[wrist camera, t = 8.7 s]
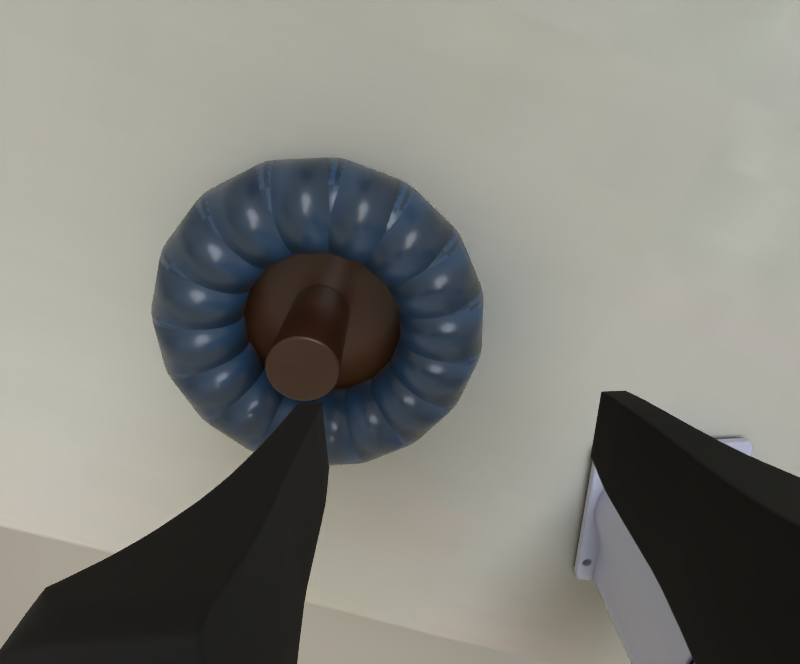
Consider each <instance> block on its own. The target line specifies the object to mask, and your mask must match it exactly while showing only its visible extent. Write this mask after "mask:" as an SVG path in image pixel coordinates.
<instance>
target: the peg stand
mask: <svg viewBox="0 0 800 664" xmlns="http://www.w3.org/2000/svg"><path fill="white" fill-rule="evenodd" d="M244 316H245V321H246V327H247V332H248V337H249V340H250V342H251V344H252V345H253V347H254V348H255V350H256V351H257V353H258V354H259V356H260V357H261V359H262V360H263V362H264V363H265V368H266V374H267V377H268V379H269V381H270V383H271V384H272V386H273V387H274V388H275V389H276V390H277V391H278V392H280V393H281V394H283V395H284V396H286V397H288V398H291V399H294V400H300V401H309V400H315V399H318V398H320V397H322V396H324V395H326V394H327V393H329V392H330V391H331V390H332V389H335V388H349V387H351V386H353V385H356V384H358V383H360V382H363V381H365V380H367V379H370V378H372V377H374V376H375V375H376V374H377V373H378V372H379V371H380V370H381V369H382V368H383V367H384V366H385V365H386V364H387V363H388V362H389V361H390V360H391V359H392V356H393V354H394V351H395V349H396V346H397V344H398V341H399V339H400V315H399V309H398V307H397V305H396V303H395V301H394V299H393V297H392V295H391V293H390V291H389V289H388V287H387V285H386V284H384V283H383V282H382V281H381V280H380V279H379V278H377V277H376V276H375V275H374V274H373V273H372V272H370V271H369V270H368V269H367V268H366V267H365V266H363V265H362V264H360V263H357V262H354V261H351V260H348V259H345V258H342V257H339V256H336V255H334V254H331V253H320V254H299V255H294V256H292V257H290V258H287V259H285V260H283V261H281V262H279V263H277V264H275V265H273V266H271V267H269V268H267V270H266V271H265V272H264V273H263V274H262V276H261V277H260V278H259V279H258V280H257V281H256V283H255V284H254V285H253V286H252V287H251V289H250V293H249V297H248V300H247V304H246V308H245V312H244Z"/></svg>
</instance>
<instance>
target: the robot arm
mask: <svg viewBox="0 0 800 664" xmlns="http://www.w3.org/2000/svg"><path fill="white" fill-rule="evenodd" d="M752 451H753V444H752V443H751V442H750V441H749V440H747V439H746V438H731V439H715V438H713V437H711V436H709V435H707V434H705V433H703V432H701V431H699V430H698V429H696V428H694V427H692V426H690V425H688V424H687V423H685V422H683V421H681V420H679V419H678V418H676V417H674V416H672V415H670V414H669V413H667V412H665V411H663V410H661V409H660V408H658V407H656V406H654V405H652V404H651V403H649V402H647V401H645V400H643V399H641V398H639V397H637V396H635V395H633V394H631V393H629V392H627V391H608V392H601V398H600V404H599V410H598V416H597V422H596V428H595V434H594V440H593V446H592V452H591V458H592V460H593V461H592V467H591V473H590V479H589V485H588V491H587V497H586V502H585V508H584V514H583V520H582V526H581V532H580V538H579V543H578V549H577V555H576V561H575V567H574V573H575V575H576V577H577V579H579V580H594V581H595V584H596V586H597V588H598V590H599V593H600V595H601V597H602V599H603V601H604V604H605V606H606V608H607V610H608V613H609V615H610V617H611V619H612V621H613V624H614V626H615V628H616V630H617V633H618V635H619V637H620V639H621V641H622V644H623V646H624V648H625V650H626V653H627V655H628V657H629V659H630V661H631V664H800V477H797V476H795V475H792V474H790V473H788V472H785V471H783V470H781V469H778V468H776V467H774V466H771V465H769V464H766V463H764V462H762V461H760V460H758V459H755V458H753V457H751V454H752ZM328 473H329V462H328V453H327V444H326V435H325V426H324V417H323V409H322V403H304V404H297V405H296V406H295V407H294V408H293V410H292V411H291V412H290V413H289V414H288V415H287V416H286V418H285V419H284V420H283V421H282V422H281V423H280V424H279V426H278V427H277V428H276V429H275V430H274V431H273V432H272V434H271V435H270V436H269V437H268V438H267V439H266V440H265V441H264V442H263V443H262V444H261V445H260V446H259V447H258V449H257V450H256V451H255V452H254V453H253V454H252V455H251V456H250V457H249V458H248V459H247V460H246V461H245V462H244V463H243V464H241V465H240V466H239V467H238V468H237V469H236V470H235V471H234V472H233V473H232V474H231V475H230V476H229V477H228V478H226V479H225V480H224V481H223V482H222V483H221V484H219V485H218V486H217V487H216V488H214V489H213V490H212V491H211V492H209V493H208V494H207V495H205V496H204V497H203V498H202V499H200V500H199V501H198V502H196V503H195V504H194V505H192V506H191V507H189V508H188V509H186V510H185V511H183V512H182V513H180V514H179V515H177V516H176V517H175V518H173V519H172V520H170V521H169V522H167V523H166V524H164V525H163V526H161V527H160V528H158V529H157V530H155V531H153V532H152V533H150V534H148V535H147V536H145V537H143V538H142V539H140V540H138V541H137V542H135V543H133V544H131V545H130V546H128V547H126V548H124V549H123V550H121V551H119V552H117V553H115V554H113V555H112V556H110V557H108V558H106V559H104V560H102V561H101V562H98V563H96V564H95V565H92V566H90V567H88V568H86V569H84V570H82V571H80V572H78V573H76V574H74V575H72V576H70V577H68V578H65V579H63V580H61V581H59V582H57V583H55V584H53V585H51V586H49V587H46V588H45V589H44V591H43V592H42V593H41V595H40V596H39V597H38V599H37V600H36V601H35V602H34V604H33V605H32V606H31V608H30V609H29V611H28V612H27V613H26V614H25V616H24V617H23V619H22V620H21V621H20V623H19V624H18V626H17V627H16V628H15V630H14V631H13V633H12V634H11V635H10V637H9V638H8V640H7V641H6V642H5V644H4V645H3V646H2V648H1V649H0V664H297V659H298V650H299V641H300V633H301V625H302V617H303V608H304V602H305V596H306V590H307V585H308V580H309V576H310V571H311V567H312V562H313V558H314V553H315V549H316V544H317V540H318V535H319V531H320V526H321V522H322V517H323V513H324V508H325V503H326V494H327V484H328Z"/></svg>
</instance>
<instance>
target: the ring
mask: <svg viewBox="0 0 800 664" xmlns="http://www.w3.org/2000/svg"><path fill="white" fill-rule="evenodd" d="M320 253H331V254H334V255H336V256H339V257H342V258H345V259H348V260H351V261H354V262H357V263H360V264H362V265H363V266H365V267H366V268H367V269H368V270H369V271H370V272H372V273H373V274H374V275H375V276H376V277H377V278H379V279H380V280H381V281H382V282H383V283H384V284H386V285H387V287H388V289H389V291H390V293H391V295H392V297H393V299H394V301H395V303H396V305H397V307H398V309H399V315H400V339H399V341H398V344H397V346H396V349H395V351H394V354H393V356H392V359H391V360H390V361H389V362H388V363H387V364H386V365H385V366H384V367H383V368H382V369H381V370H380V371H379V372H378V373H377V374H376V375H375V376H374V377H372V378H370V379H367V380H365V381H363V382H360V383H358V384H356V385H353V386H351V387H349V388H335V389H332V390H331V391H330V392H329V393H327V394H326V395H324V396H322V397H320V398H318V399H315V400H309V401H300V400H294V399H291V398H288V397H286V396H284V395H283V394H281V393H280V392H278V391H277V390H276V389H275V388H274V387H273V386H272V384H271V383H270V381H269V379H268V377H267V374H266V368H265V363H264V362H263V360H262V359H261V357H260V356H259V354H258V353H257V351H256V350H255V348H254V347H253V345H252V344H251V342H250V340H249V337H248V332H247V327H246V321H245V316H244V312H245V308H246V304H247V300H248V297H249V293H250V289H251V287H252V286H253V285H254V284H255V283H256V281H257V280H258V279H259V278H260V277H261V276H262V274H263V273H264V272H265V271H266V270H267V268H269V267H271V266H273V265H275V264H277V263H279V262H281V261H283V260H285V259H287V258H290V257H292V256H294V255H299V254H320ZM151 312H152V319H153V324H154V328H155V331H156V335H157V338H158V342H159V346H160V349H161V353H162V357H163V360H164V364H165V367H166V370H167V372H168V374H169V376H170V377H171V379H172V380H173V381H174V383H175V384H176V385H177V387H178V388H179V389H180V391H181V392H182V393H183V394H184V396H185V397H186V398H187V400H188V401H189V402H190V404H191V405H192V406H193V407H194V409H195V410H196V411H197V413H198V414H199V415H200V416H201V417H202V419H204V420H205V421H206V422H207V423H209V424H210V425H211V426H213V427H214V428H216V429H217V430H219V431H221V432H222V433H224V434H225V435H227V436H228V437H230V438H231V439H233V440H234V441H236V442H238V443H239V444H241V445H242V446H244V447H245V448H247V449H249V450H251V451H253V452H255V451H256V450H257V449H258V447H259V446H260V445H261V444H262V443H263V442H264V441H265V440H266V439H267V438H268V437H269V436H270V435H271V434H272V432H273V431H274V430H275V429H276V428H277V427H278V426H279V424H280V423H281V422H282V421H283V420H284V419H285V418H286V416H287V415H288V414H289V413H290V412H291V411H292V410H293V408H294V407H295V406H296V405H297V404H304V403H322V409H323V417H324V426H325V435H326V444H327V453H328V462H329V465H343V464H358V463H364V462H367V461H370V460H373V459H375V458H378V457H380V456H383V455H386V454H388V453H391V452H393V451H396V450H398V449H401V448H403V447H406V446H408V445H410V444H412V443H414V442H416V441H417V440H418V439H420V438H421V437H422V436H423V435H424V434H425V433H426V432H427V431H428V430H430V429H431V428H432V427H433V426H434V425H435V424H436V423H437V422H439V421H440V420H441V419H442V418H443V417H444V416H445V415H446V414H448V413H449V412H450V411H451V410H452V409H453V408H454V406H455V405H456V404H457V402H458V401H459V399H460V397H461V395H462V393H463V391H464V389H465V387H466V385H467V382H468V380H469V378H470V376H471V374H472V372H473V370H474V368H475V366H476V364H477V362H478V359H479V357H480V353H481V348H482V324H483V292H482V288H481V285H480V282H479V280H478V277H477V275H476V272H475V270H474V267H473V265H472V263H471V260H470V258H469V255H468V253H467V251H466V248H465V246H464V243H463V241H462V239H461V237H460V235H459V233H458V231H457V230H456V229H455V228H454V227H453V226H452V225H451V224H450V223H449V222H448V221H447V220H446V219H445V218H444V217H443V216H442V215H441V214H440V213H439V212H438V211H437V210H436V209H435V208H434V207H433V206H432V205H431V204H430V203H429V202H428V201H426V200H425V199H424V198H423V197H422V196H421V195H420V194H419V193H418V192H417V191H416V190H415V189H414V188H412V187H411V186H410V185H409V184H407V183H405V182H403V181H401V180H399V179H396V178H394V177H391V176H389V175H386V174H383V173H381V172H378V171H375V170H373V169H370V168H368V167H365V166H362V165H360V164H357V163H354V162H352V161H348V160H345V159H341V158H310V159H288V160H273V161H266V162H264V163H261V164H259V165H257V166H255V167H253V168H251V169H249V170H247V171H245V172H243V173H241V174H239V175H237V176H235V177H233V178H231V179H229V180H227V181H225V182H224V183H222V184H220V185H218V186H216V187H214V188H212V189H210V190H209V191H207V192H206V193H204V194H203V195H202V196H201V197H200V198H199V199H198V200H197V201H196V203H195V204H194V205H193V207H192V208H191V209H190V211H189V212H188V213H187V215H186V216H185V218H184V219H183V220H182V222H181V223H180V224H179V226H178V227H177V228H176V230H175V231H174V232H173V234H172V235H171V237H170V238H169V239H168V241H167V242H166V244H165V246H164V247H163V250H162V253H161V256H160V261H159V266H158V272H157V278H156V284H155V290H154V296H153V302H152V311H151Z"/></svg>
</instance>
